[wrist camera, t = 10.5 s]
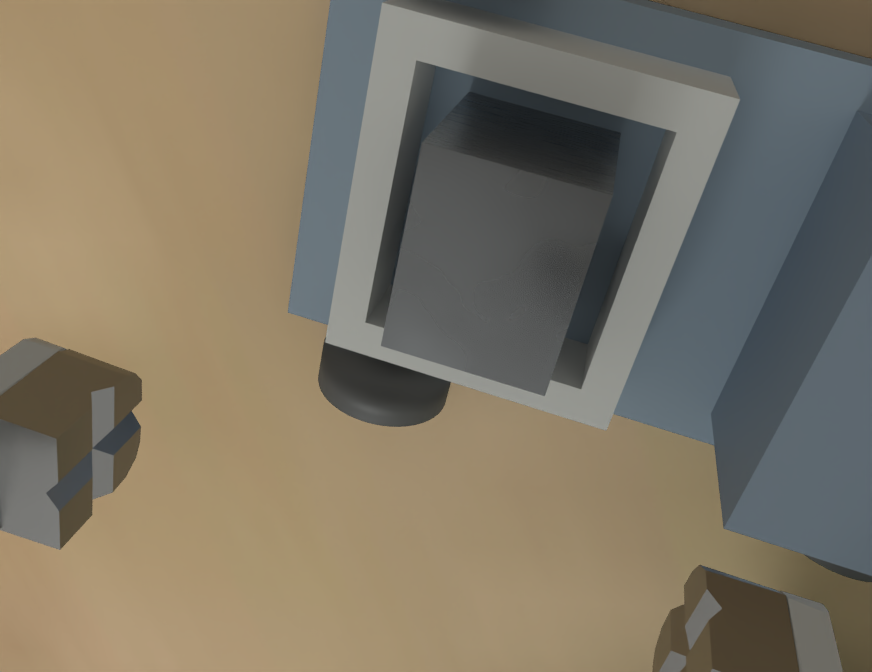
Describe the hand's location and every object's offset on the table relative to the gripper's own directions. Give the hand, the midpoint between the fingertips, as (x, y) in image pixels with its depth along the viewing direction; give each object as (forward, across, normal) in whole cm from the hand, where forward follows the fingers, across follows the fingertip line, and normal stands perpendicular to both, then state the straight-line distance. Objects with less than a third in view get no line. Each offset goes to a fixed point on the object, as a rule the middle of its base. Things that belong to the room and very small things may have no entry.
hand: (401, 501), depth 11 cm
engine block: (+13, 0, +1) cm, 13 cm away
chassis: (+15, -4, +1) cm, 15 cm away
